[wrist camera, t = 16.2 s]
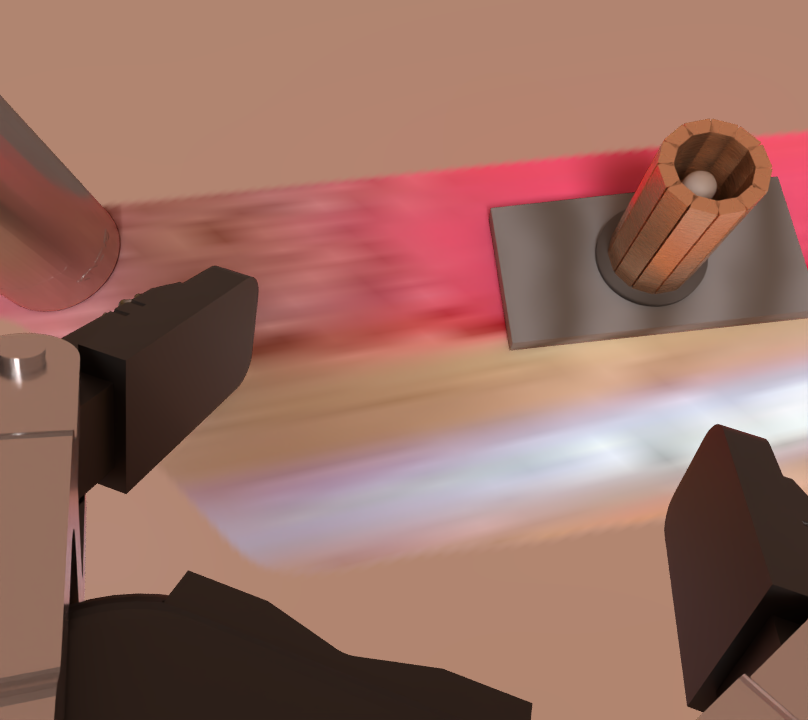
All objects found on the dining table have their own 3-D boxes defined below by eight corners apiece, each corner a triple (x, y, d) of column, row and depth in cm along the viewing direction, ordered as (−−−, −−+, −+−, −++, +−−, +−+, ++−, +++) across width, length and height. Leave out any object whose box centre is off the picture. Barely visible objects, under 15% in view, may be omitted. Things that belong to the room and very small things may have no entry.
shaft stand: (509, 350, 44) (534, 283, 33) (489, 219, 47) (505, 120, 36) (807, 318, 43) (924, 241, 33) (767, 188, 46) (862, 81, 36)
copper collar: (599, 279, 43) (648, 196, 33) (620, 207, 44) (672, 108, 35) (685, 303, 42) (760, 226, 32) (702, 229, 43) (779, 135, 34)
